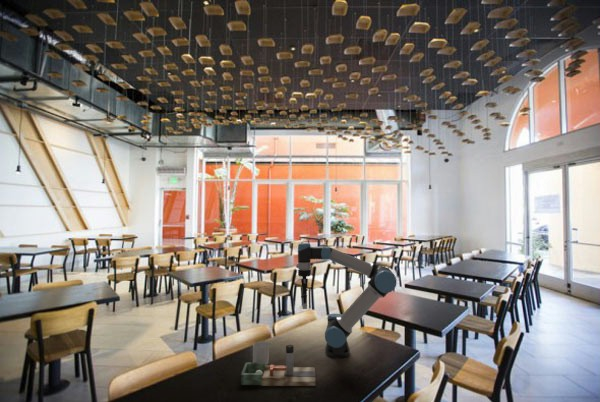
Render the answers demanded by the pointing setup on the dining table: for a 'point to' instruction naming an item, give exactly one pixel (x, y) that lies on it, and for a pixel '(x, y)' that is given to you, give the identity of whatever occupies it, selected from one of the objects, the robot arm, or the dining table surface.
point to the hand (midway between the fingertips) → (304, 305)
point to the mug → (261, 352)
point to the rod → (289, 362)
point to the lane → (276, 376)
